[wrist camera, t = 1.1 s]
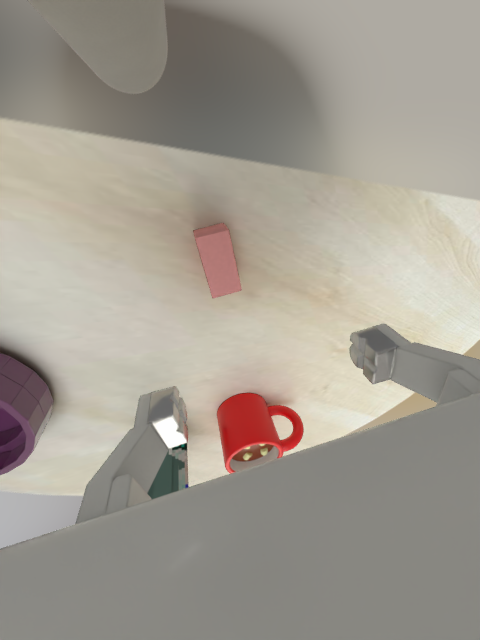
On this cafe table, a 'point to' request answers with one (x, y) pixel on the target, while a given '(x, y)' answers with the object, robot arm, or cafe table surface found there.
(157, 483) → the can
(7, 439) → the bowl
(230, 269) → the eraser
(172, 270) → the cafe table surface
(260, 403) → the mug
